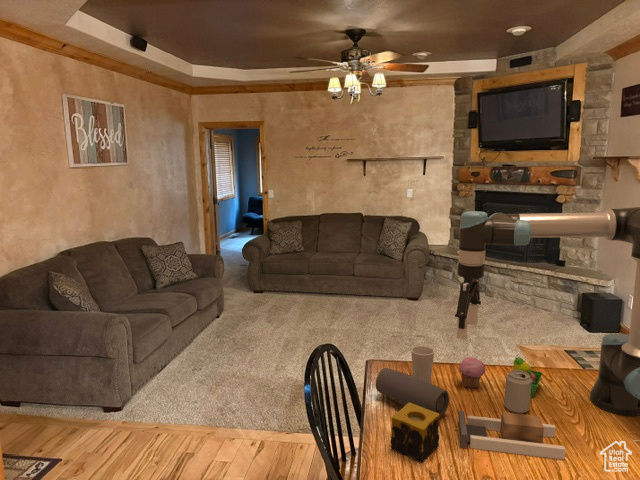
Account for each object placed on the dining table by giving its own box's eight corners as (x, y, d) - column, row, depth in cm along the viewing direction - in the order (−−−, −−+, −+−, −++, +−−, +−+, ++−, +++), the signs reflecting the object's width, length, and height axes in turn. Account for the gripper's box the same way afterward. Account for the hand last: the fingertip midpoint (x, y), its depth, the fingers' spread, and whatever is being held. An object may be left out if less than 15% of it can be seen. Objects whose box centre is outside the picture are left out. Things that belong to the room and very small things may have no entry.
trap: (484, 425, 144) (485, 413, 143) (489, 451, 131) (490, 438, 131) (458, 422, 145) (459, 410, 145) (460, 447, 133) (461, 434, 132)
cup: (406, 378, 174) (407, 347, 172) (425, 375, 176) (426, 344, 174) (417, 388, 167) (418, 356, 164) (437, 385, 169) (438, 353, 167)
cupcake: (460, 377, 175) (462, 351, 173) (485, 382, 171) (487, 356, 169) (455, 388, 167) (457, 361, 165) (481, 393, 163) (483, 366, 161)
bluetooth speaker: (449, 414, 150) (451, 384, 148) (433, 426, 144) (434, 395, 142) (391, 389, 166) (391, 362, 164) (374, 399, 160) (374, 371, 158)
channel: (553, 434, 139) (554, 424, 139) (564, 459, 128) (565, 449, 127) (467, 424, 144) (467, 415, 144) (470, 448, 133) (470, 438, 132)
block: (537, 438, 137) (538, 416, 136) (541, 451, 132) (543, 427, 130) (500, 434, 140) (501, 412, 138) (503, 446, 134) (504, 423, 133)
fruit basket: (536, 400, 159) (539, 368, 157) (508, 393, 163) (510, 362, 161) (541, 386, 168) (544, 355, 166) (514, 380, 173) (516, 350, 171)
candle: (407, 432, 140) (408, 401, 139) (439, 445, 134) (441, 413, 132) (389, 449, 133) (390, 416, 131) (422, 464, 126) (423, 429, 125)
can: (531, 415, 149) (534, 379, 147) (506, 413, 150) (508, 377, 148) (526, 403, 156) (529, 369, 154) (502, 401, 158) (504, 367, 156)
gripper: (468, 254, 156) (464, 317, 159) (447, 270, 134) (443, 342, 138) (492, 257, 152) (488, 321, 156) (474, 273, 131) (470, 347, 134)
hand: (467, 331), depth 147 cm, fingers open, 13 cm apart
